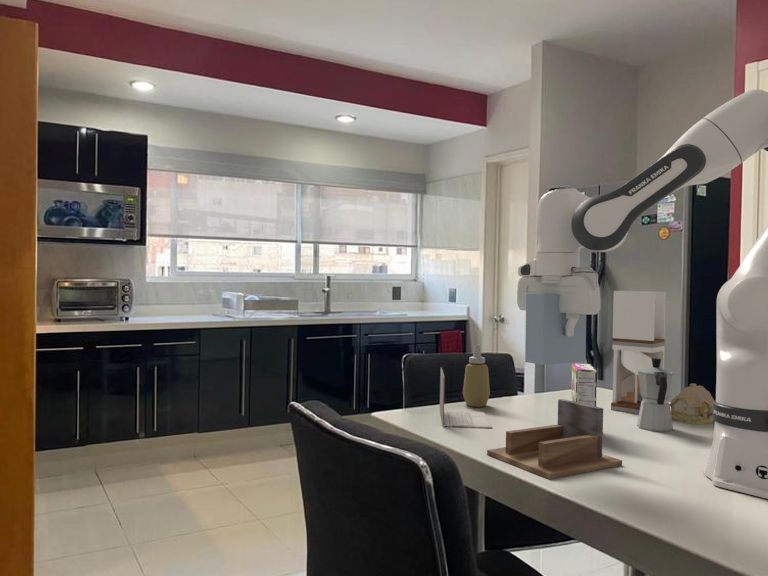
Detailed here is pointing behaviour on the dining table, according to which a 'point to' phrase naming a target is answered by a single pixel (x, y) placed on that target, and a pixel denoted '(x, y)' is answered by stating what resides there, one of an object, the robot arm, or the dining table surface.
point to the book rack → (560, 444)
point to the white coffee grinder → (635, 343)
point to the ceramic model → (693, 405)
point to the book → (552, 332)
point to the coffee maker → (655, 398)
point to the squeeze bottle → (476, 381)
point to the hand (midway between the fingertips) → (556, 334)
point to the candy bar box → (584, 384)
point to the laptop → (460, 414)
